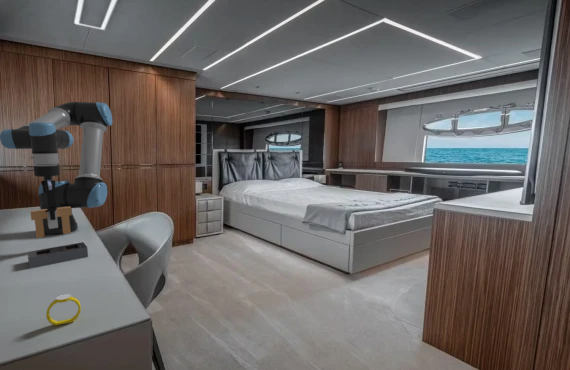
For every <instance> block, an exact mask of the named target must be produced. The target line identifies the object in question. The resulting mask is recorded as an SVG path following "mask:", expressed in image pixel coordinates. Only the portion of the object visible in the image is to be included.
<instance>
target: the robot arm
mask: <svg viewBox="0 0 570 370" xmlns="http://www.w3.org/2000/svg"><path fill="white" fill-rule="evenodd" d="M112 125H113V116H112V111H111V108H110V107H109V105H107V104H106V102H100V101H99V102H98V101H95V102H94V101H93V102H92V101H89V102H88V101H69V102H66V103H61V104H59V105H57V106H54V107H52V108H50V109H49V110H48V111H47V113H46V114H43V115H42V116H40V117H38V118H36V119H33V120H32V121H30V122H29V123H26V124H24V125H22V126H21V127H18V128H15V129H13V128H10V129H9V128H8V129H6V128H5V129H3V130H2V131H1V132H0V143H1V145H2V146H3V147H4V148H5V149H9V150H10V149H11V150H31V156H30V157H29V159H30V160H32V164H33V165H34V166H33V175H34V176H35V177H37V178H38V177H42V179H43V180H41V181H40V184H39V186H38V198H39V199H38V200H39V210H42V209H47V210H45V212H47V215H48V218H45V219H43V227H44V236H48V235H60V234H63V229H62V220H61V217H57V212H56V210H57V208H59V207H68V206H70V207H71V212H72V215H69V221H70V231H71V232H74V231H76V230H77V229H78V228H79V227H78V225H79V224H78V222H77V221H76V218H75V216H74V214H73V210H72V209H80V208H81V209H85V208H86V209H87V208H90V209H92V208H99V207H101V206H103V205H104V204H105V203H106V200H107V197H108V186H107V184H106V183H105V182H104V180H103V178H101V169H102V168H101V166H102V155H103V143H104V133H105V132H107V131H108V127H110V126H112ZM68 126H79V127H80V128H81V130H82V138H81V139H82V140H81V150H80V158H79V159H80V160H79V170H78V171H79V172H78V175H77V176H76V177H74V180H73V181H74V182H73V183H71V182H70V180H62V181H61V180H60V181H55V179H54V180H53V177H57V176H60V173H61V172H60V171H61V170H60V166H59V163H60V161H59V151H58V149H60V150H61V149H62V150H64V149H68V148H70V147H72V145H73V144H74V136H73V134H72V133H71V132H69V131H68V130H64V129H62V128H66V127H68ZM60 128H61V129H60Z"/></svg>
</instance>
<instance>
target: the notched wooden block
mask: <svg viewBox="0 0 570 370" xmlns="http://www.w3.org/2000/svg"><path fill="white" fill-rule="evenodd" d="M45 210H47V209H42V210H40V209H32V210H30V219H31V221H34V226H35V228H34V229H35V235H36V239H42V238H45V236H46V235H44V227H43V219H45V218H48V215H47V212H45ZM56 212H57V217H61V220H62V229H63V233H62V234H63V235H67V234H71V233H72V231H70V221H69V215H72V214H73V211H72V212H71V207H70V206H68V207H59V208H57V210H56Z"/></svg>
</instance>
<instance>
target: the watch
mask: <svg viewBox="0 0 570 370" xmlns="http://www.w3.org/2000/svg"><path fill="white" fill-rule="evenodd" d="M68 301H71V302H74V303H75V305H77V308H78V309H77V312H76V314H75V315H74V316H72V317H71V318H68V319H62V320H58V321H57V320H56V319H53V318H52V317H51V315H50V310H51V309H52V307H53V306H55V305H56V304H57V303H59V304H63V303H66V302H68ZM81 307H82V306H81V302H80V301H79V299H78V298H76V297H74V296H72V294H70V293H65V294H61V295H58V296H56V297H55V299H54V300H53V301H52V302H51V303H50V304H49V306H48V307H47V310H46V317H45V318H46V320H47V321H48V322H49V324H51V325H53V326H59V325H64V324H71V323H73V322H74V321H75V320H77V319H78V318H79V316H80V314H81V310H82V308H81Z"/></svg>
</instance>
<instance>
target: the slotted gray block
mask: <svg viewBox="0 0 570 370" xmlns="http://www.w3.org/2000/svg"><path fill="white" fill-rule="evenodd" d="M88 257H89V252H88V246H87V244H85V242H82V241H81V242H77V243H71V244H65V245H58V246H54V247H47V248H42V249H36V250H31V251H27V259H28V260H27V261H28V267H29V269H34V268H40V267H44V266H49V265H54V264H58V263H59V264H60V263H64V262H67V261H74V260H77V259H83V258H88Z"/></svg>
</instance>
